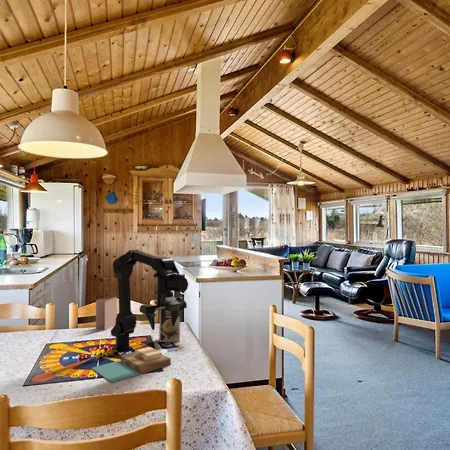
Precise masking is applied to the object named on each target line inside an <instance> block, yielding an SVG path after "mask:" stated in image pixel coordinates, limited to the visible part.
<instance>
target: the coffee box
mask: <svg viewBox="0 0 450 450" xmlns="http://www.w3.org/2000/svg"><path fill="white" fill-rule="evenodd" d="M180 333H181V312H180V313H179V315H178V317H177V320H176V323H175V325H174V326H172V322H171V312H169V311H167V309H160V310H159V335H158V337H159V342H165V343H176V342H180V341H181V340H180V338H181V337H180V335H181V334H180Z"/></svg>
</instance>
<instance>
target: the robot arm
mask: <svg viewBox="0 0 450 450" xmlns="http://www.w3.org/2000/svg"><path fill="white" fill-rule="evenodd" d="M137 263H141V264H144V265H146V266H149V267H151V268H152V270H153V271H155V273H154V274H153V278H156V290H155V291H154V294H155V295H156V300H155V301H154V304H151V303H145V304H141V305H140V307H139V312H140V313H141V314H143V315H145V317H146V318H147V320H148V323H149V326H150V328H151V330H152V331H155V326H156V323H155V322H156V316H157V313H156V312H157V311H158V310H159V311H160V309H167V311H169V312H171V322H172V326H174V325H175V323H176V320H177V317H178V315H179V313H180V314H181V312H182V311H184V310H185V309H187V307H188V304H187V301H185V300H184V298H183V297H182V296H177V297H174V292H178V293H185V292H187V290H188V288H189V281H188V279H187V278H186V275H185V274H184V273H180V271H179V269H178V267H177V266H176V263H175V261H174V258H172V257H170V256H169V257H167V256H157V255H153V254H150V253H147V252H144V251H141V250H139V249H130V250H128V251H127V252H126V253H124V254H123V255H121V256H119V257H118V258H116V259H114V261H113V263H112V267H113V269H112V271H113V274H114V275H115V277H116V278H117V287H118V288H117V291H118V312H117V317H116V323H115V326H113V327H112V329H111V330H110V335H111V336H112V337H115V346H112V349H114V350H115V351H118V352H123V351H127V350H131V349H133V346H131V345H130V334H134V333H135V328H136V326H137V323H138V322H137V316H136V314H134V313H133V312H132V309H131V303H132V302H131V282H130V281H131V279H130V278H131V277H132V274H133V271H134V266H135V265H136V264H137Z"/></svg>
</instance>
